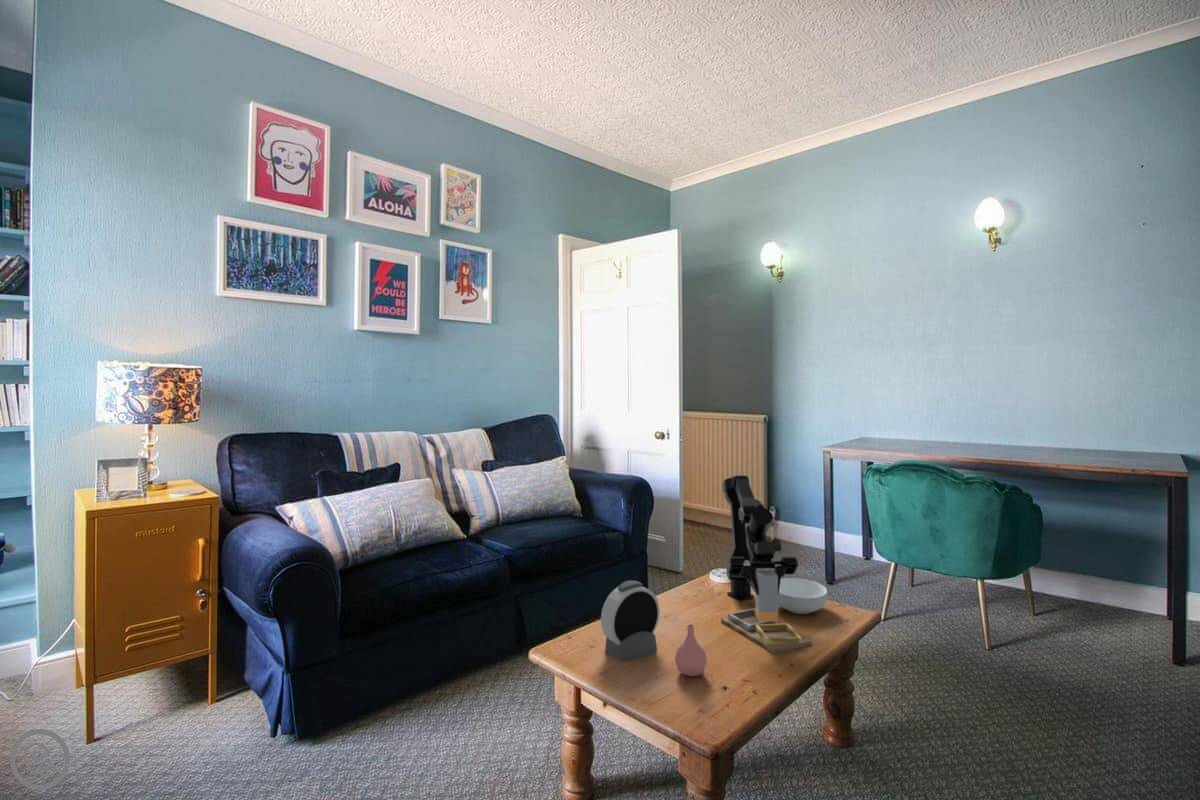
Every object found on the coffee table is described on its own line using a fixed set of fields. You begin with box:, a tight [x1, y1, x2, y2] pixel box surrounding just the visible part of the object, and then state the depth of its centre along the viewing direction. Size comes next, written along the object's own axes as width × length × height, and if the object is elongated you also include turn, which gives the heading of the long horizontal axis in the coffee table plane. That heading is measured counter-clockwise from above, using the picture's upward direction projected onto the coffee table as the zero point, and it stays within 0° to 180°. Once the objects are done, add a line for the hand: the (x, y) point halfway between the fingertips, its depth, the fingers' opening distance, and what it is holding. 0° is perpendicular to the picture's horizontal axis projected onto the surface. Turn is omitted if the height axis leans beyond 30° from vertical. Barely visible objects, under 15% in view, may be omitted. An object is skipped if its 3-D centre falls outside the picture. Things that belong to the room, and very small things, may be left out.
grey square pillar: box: [754, 569, 779, 622], centre depth 160 cm, size 4×5×12 cm
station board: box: [720, 607, 813, 655], centre depth 166 cm, size 23×13×2 cm, turn 25°
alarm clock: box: [600, 580, 661, 662], centre depth 156 cm, size 16×10×18 cm, turn 123°
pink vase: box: [674, 624, 708, 677], centre depth 143 cm, size 8×8×12 cm
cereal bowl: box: [778, 577, 828, 615], centre depth 182 cm, size 17×17×7 cm
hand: (767, 594), depth 159 cm, fingers closed on grey square pillar, 5 cm apart
